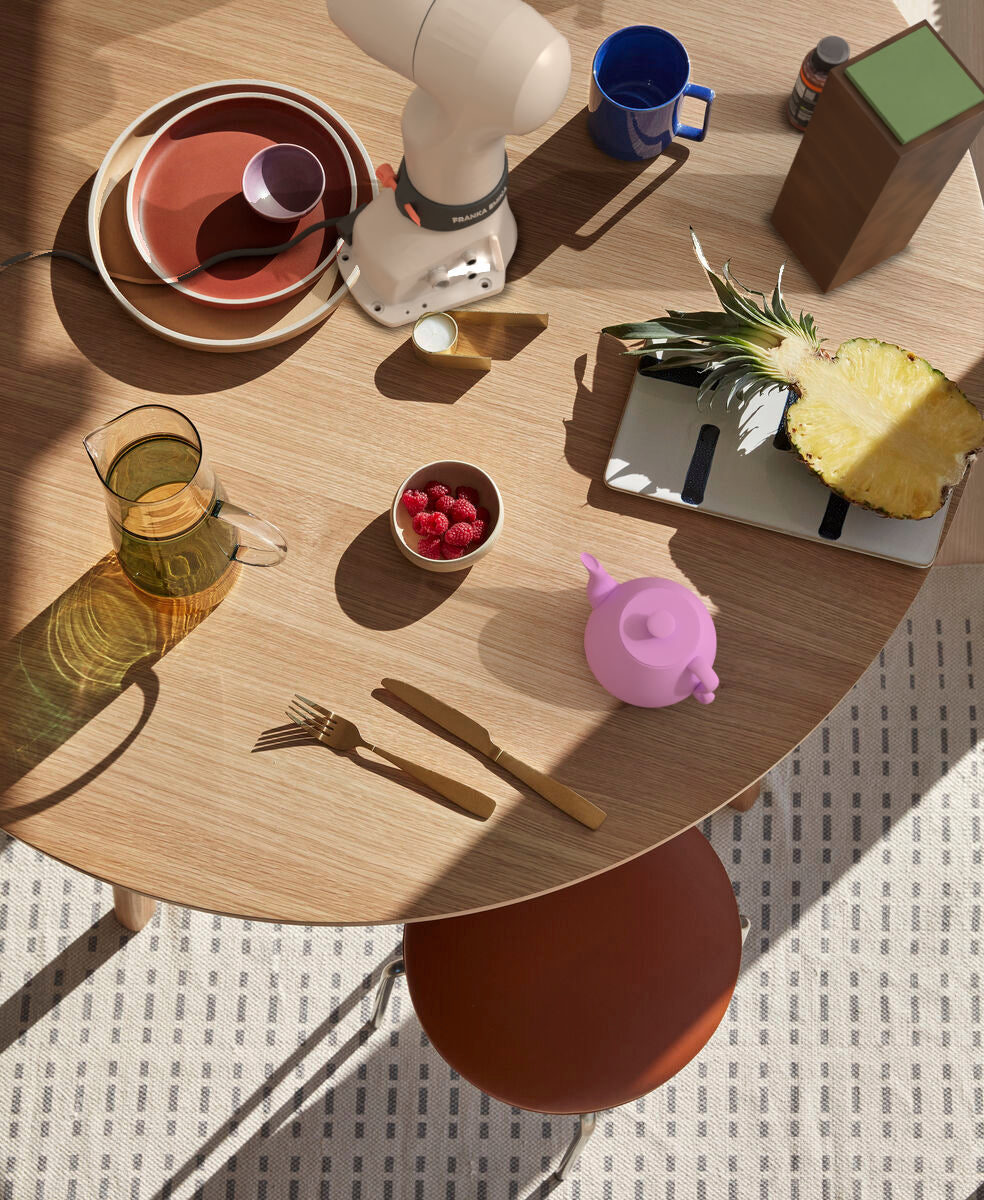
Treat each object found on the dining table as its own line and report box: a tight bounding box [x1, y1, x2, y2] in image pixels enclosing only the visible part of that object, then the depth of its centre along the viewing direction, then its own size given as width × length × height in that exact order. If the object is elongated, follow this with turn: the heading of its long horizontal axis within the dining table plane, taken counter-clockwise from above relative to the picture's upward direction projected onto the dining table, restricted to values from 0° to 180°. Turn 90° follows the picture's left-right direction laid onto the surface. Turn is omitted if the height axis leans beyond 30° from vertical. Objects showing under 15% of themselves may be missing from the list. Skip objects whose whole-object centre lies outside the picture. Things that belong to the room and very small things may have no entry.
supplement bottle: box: [786, 35, 851, 132], centre depth 135 cm, size 6×6×11 cm
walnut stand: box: [768, 18, 984, 295], centre depth 124 cm, size 12×12×26 cm
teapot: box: [579, 551, 720, 709], centre depth 117 cm, size 20×14×12 cm
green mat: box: [844, 26, 984, 145], centre depth 111 cm, size 10×10×1 cm
